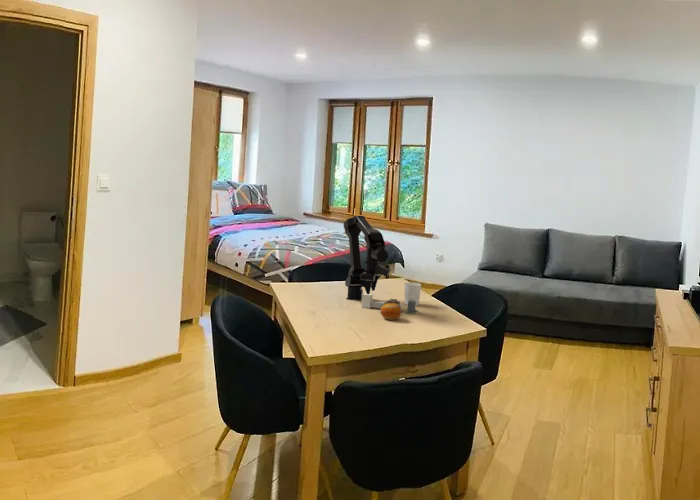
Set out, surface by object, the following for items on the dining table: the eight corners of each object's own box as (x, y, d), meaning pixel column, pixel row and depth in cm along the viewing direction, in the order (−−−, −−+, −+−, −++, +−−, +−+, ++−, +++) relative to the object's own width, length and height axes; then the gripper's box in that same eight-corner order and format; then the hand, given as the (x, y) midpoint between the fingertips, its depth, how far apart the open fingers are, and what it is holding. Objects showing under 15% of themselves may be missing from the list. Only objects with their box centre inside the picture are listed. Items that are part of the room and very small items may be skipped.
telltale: (407, 312, 280) (408, 301, 279) (408, 311, 283) (409, 300, 282) (413, 313, 279) (414, 302, 278) (415, 311, 282) (415, 301, 281)
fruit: (387, 307, 273) (389, 294, 267) (403, 316, 269) (405, 304, 264) (376, 318, 268) (378, 305, 262) (392, 328, 264) (394, 315, 259)
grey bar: (361, 307, 285) (362, 294, 285) (363, 305, 289) (364, 292, 288) (399, 311, 280) (400, 298, 280) (401, 309, 284) (402, 297, 283)
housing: (383, 310, 281) (384, 301, 280) (387, 307, 287) (387, 298, 287) (415, 314, 277) (415, 304, 276) (418, 311, 283) (418, 301, 283)
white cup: (419, 306, 292) (420, 286, 291) (402, 305, 294) (403, 284, 292) (420, 303, 300) (421, 283, 299) (404, 302, 301) (405, 281, 300)
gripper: (384, 263, 272) (383, 298, 274) (394, 257, 290) (392, 290, 292) (360, 260, 275) (358, 295, 277) (371, 255, 293) (369, 288, 295)
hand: (370, 292), depth 285 cm, fingers open, 9 cm apart
